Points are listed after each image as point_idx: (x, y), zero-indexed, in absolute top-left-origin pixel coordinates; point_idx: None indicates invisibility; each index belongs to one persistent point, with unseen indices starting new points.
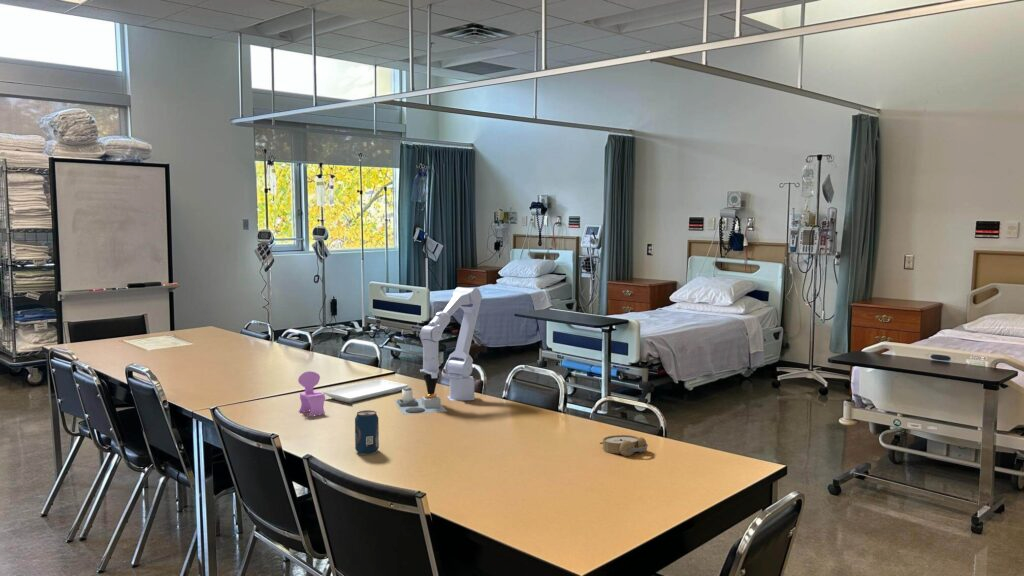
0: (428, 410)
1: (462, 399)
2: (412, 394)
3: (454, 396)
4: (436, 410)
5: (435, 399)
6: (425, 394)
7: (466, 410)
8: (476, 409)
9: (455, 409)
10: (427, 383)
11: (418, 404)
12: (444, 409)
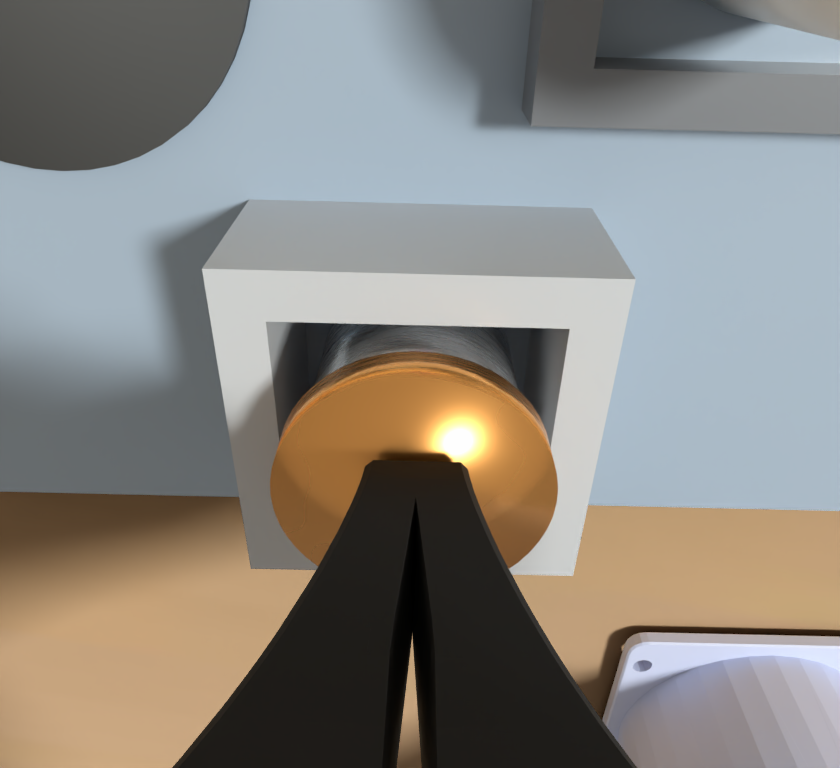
0: (35, 232)
1: (615, 737)
2: (813, 17)
3: (679, 719)
4: (31, 363)
5: (238, 490)
6: (453, 386)
7: (131, 668)
8: (168, 741)
9: (200, 590)
10: (193, 747)
11: (609, 137)
12: (98, 481)
